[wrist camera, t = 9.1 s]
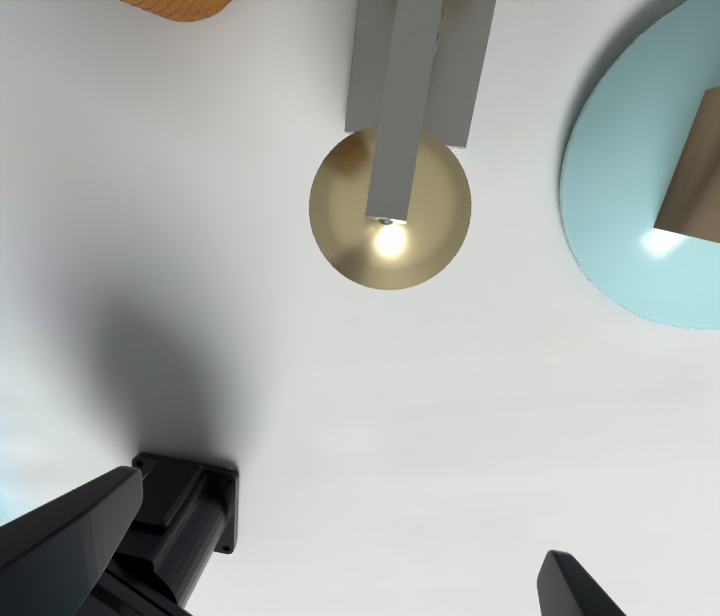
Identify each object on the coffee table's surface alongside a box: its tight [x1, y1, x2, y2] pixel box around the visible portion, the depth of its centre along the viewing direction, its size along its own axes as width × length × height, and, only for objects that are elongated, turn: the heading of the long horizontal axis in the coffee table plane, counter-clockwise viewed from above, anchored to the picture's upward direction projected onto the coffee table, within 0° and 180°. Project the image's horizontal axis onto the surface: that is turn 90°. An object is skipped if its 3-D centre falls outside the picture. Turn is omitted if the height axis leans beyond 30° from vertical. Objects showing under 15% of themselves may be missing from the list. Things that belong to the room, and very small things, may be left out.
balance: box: [309, 0, 496, 290], centre depth 12 cm, size 14×5×9 cm, turn 173°
